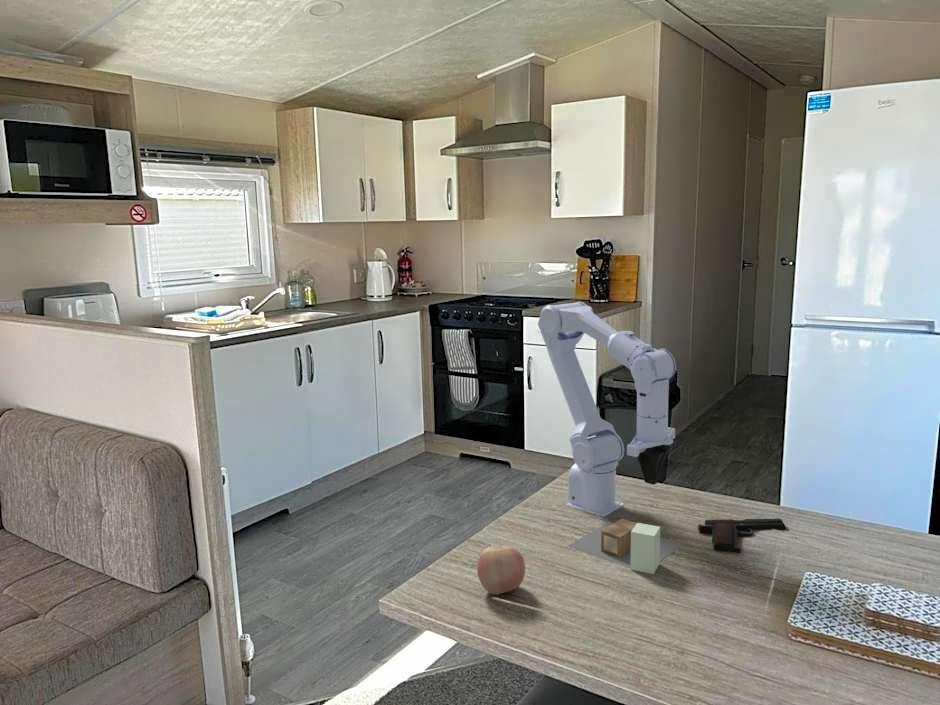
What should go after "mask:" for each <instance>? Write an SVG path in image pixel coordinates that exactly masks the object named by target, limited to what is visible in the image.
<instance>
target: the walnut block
mask: <svg viewBox="0 0 940 705" xmlns="http://www.w3.org/2000/svg"><path fill="white" fill-rule="evenodd" d="M637 523H638V522H635V521H631V520H629V519H625V518H621V519H619V520H617V521H615V522H614V524H612V525H610V526H609V527H607V528H605V529H604V530H602V531H601V552H604V553H607V554H610V555H613V556H616V557H619V558H621V557H623V556H624V555H625V554H627V553H628V552H630V551H631V531H632V530H633V528H634V527H635V525H636V524H637Z"/></svg>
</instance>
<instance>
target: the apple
mask: <svg viewBox="0 0 940 705" xmlns="http://www.w3.org/2000/svg"><path fill="white" fill-rule="evenodd" d="M476 572H477V576H478V579H479V583H480V584H481V586H482V587H483V589H484V590H485V591H486V592H487V593H489V594H491V595H494V596H498V595H500V594H504V593H507V592H510V591H512V590H514V589H515V590H516V589H517V588H519V587H520V586H521V584H522V583H523V582H524V578H525V574H526V563H525V560H524V558H523V555H522V553H521V552H520V551H519V550H518V548H516V547H514V546H509V545H492V546H488V547H486V548H485V549H483V550H482V552H481V553H480V555H479V556H478V560H477V563H476Z"/></svg>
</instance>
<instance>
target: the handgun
mask: <svg viewBox="0 0 940 705" xmlns="http://www.w3.org/2000/svg"><path fill="white" fill-rule="evenodd" d="M773 529H774V530H776V531H781V530H784V531H785V530H786V525H785V523H784V521H783V520H782V519H781V518H745V519H733V518H731V519H730V518H729V519H725V518H724V519H705V520H704V524H701V523H700V524H699V523H698V526H697V531H698V533H699V534H711V537H712V541H711V544H713V551H717V552H723V553H724V552H725V553H732V554H733V553H735V554H741V548H739V541H738V540H739V539H738V538H742V537H743V538H745V537H751V536H753V535H754V534H753V531H761V530H762V531H763V530H773Z"/></svg>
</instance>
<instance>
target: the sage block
mask: <svg viewBox="0 0 940 705" xmlns="http://www.w3.org/2000/svg"><path fill="white" fill-rule="evenodd" d="M636 523H637V524H636V525H635V527H634V528H633V530H632V531H631V566H630V568H629V569H630V570H631V571H636V572H639V571H640V572H639V573H642V572H645V573H644V574H649V575H654V574H655V573H656V571H657V569H658V567H659V566H660V562H661V561H660V537H661V526H659V525H652V524H645V523H641V522H636Z"/></svg>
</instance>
